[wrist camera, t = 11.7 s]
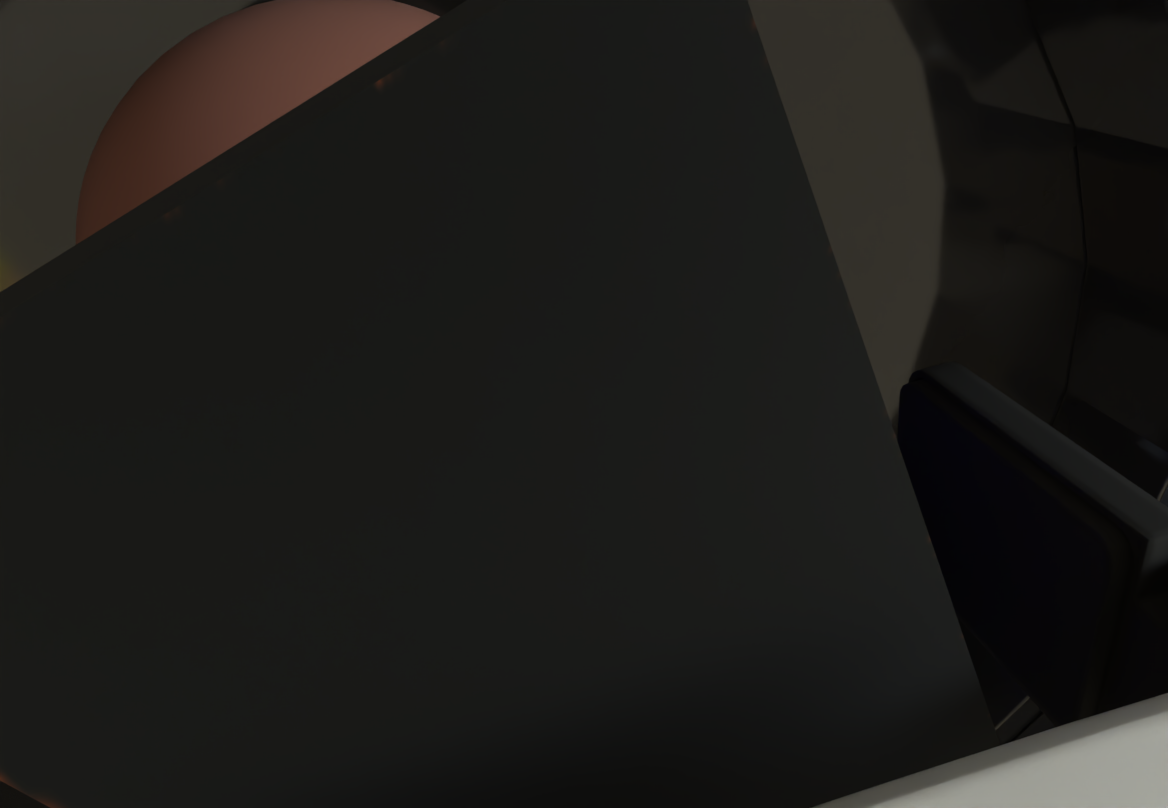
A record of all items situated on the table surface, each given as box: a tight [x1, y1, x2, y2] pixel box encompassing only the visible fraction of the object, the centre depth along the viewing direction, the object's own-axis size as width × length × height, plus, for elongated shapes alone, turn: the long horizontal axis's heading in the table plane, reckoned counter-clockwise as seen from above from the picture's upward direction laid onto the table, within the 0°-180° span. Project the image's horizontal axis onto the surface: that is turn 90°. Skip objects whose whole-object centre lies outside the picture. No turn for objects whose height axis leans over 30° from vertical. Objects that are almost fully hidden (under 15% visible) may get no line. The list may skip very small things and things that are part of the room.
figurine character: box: [0, 0, 1000, 808], centre depth 11 cm, size 7×8×15 cm
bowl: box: [0, 0, 1168, 808], centre depth 12 cm, size 21×21×6 cm
